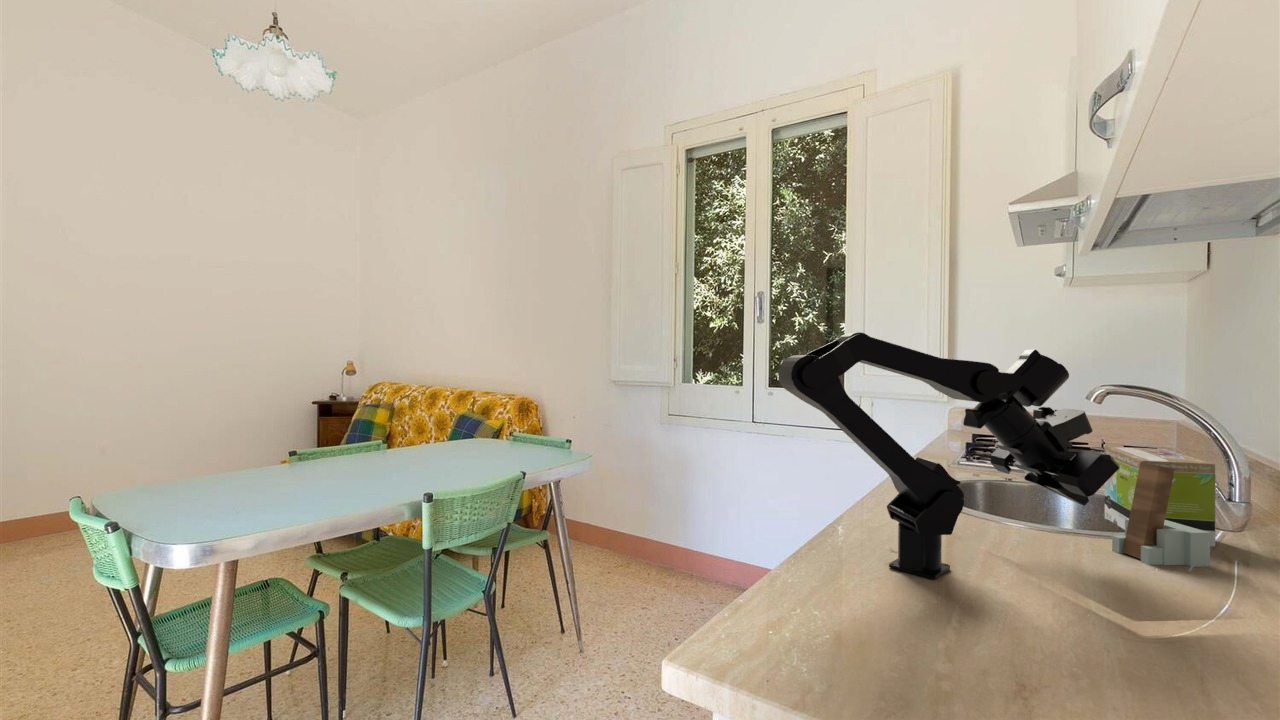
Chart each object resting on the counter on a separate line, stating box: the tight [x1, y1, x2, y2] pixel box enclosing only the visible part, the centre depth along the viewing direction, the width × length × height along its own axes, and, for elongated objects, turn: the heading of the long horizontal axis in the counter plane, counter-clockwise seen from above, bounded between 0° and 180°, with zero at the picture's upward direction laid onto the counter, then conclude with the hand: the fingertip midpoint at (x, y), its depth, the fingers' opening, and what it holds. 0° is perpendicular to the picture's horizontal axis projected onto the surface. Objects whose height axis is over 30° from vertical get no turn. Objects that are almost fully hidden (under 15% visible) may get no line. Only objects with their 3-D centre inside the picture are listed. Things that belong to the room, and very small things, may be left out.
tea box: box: [1103, 446, 1216, 547], centre depth 100 cm, size 15×10×15 cm, turn 161°
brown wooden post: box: [1123, 462, 1175, 560], centre depth 87 cm, size 2×3×14 cm
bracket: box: [1111, 519, 1211, 568], centre depth 87 cm, size 10×8×6 cm
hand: (1084, 502), depth 86 cm, fingers closed
